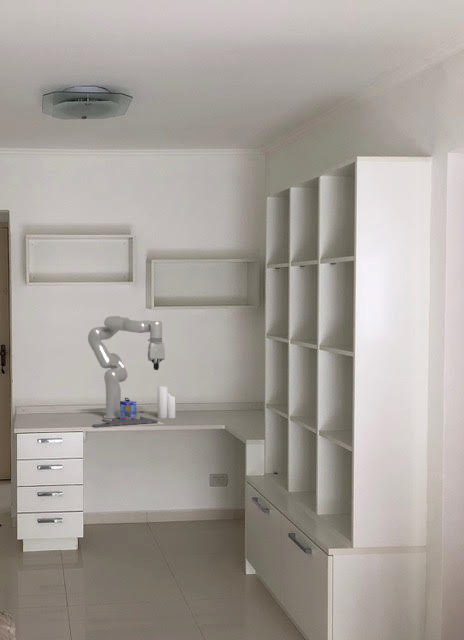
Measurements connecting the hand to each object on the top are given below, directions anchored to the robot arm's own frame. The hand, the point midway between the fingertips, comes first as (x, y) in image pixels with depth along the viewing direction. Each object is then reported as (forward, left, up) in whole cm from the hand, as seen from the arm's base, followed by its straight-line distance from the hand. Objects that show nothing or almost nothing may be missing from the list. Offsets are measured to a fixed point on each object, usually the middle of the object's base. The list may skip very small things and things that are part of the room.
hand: (156, 369), depth 596 cm
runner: (+12, -19, -32) cm, 39 cm away
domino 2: (+12, -29, -31) cm, 44 cm away
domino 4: (+12, -17, -31) cm, 37 cm away
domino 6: (+12, -5, -31) cm, 33 cm away
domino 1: (+12, -35, -31) cm, 48 cm away
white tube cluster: (-8, +10, -32) cm, 35 cm away
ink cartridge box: (-8, -16, -32) cm, 37 cm away
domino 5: (+12, -11, -31) cm, 35 cm away
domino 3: (+12, -23, -31) cm, 40 cm away
